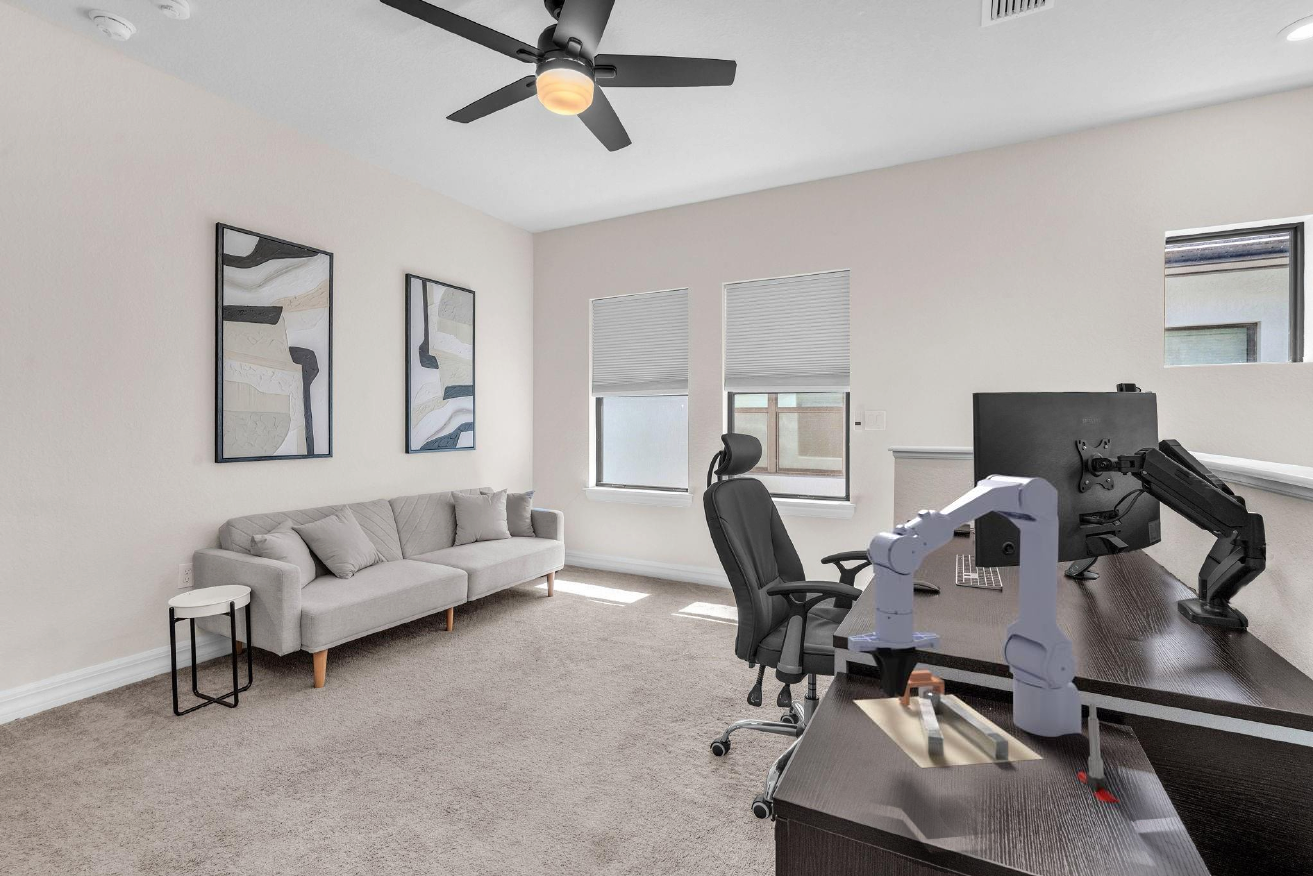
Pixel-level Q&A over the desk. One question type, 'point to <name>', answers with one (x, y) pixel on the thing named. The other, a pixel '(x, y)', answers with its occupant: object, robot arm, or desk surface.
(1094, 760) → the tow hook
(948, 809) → the desk surface
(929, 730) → the bar
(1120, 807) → the desk surface
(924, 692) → the tong base
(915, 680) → the collar
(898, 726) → the board
